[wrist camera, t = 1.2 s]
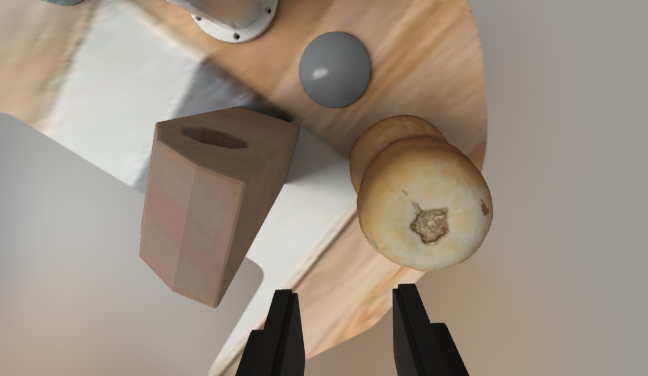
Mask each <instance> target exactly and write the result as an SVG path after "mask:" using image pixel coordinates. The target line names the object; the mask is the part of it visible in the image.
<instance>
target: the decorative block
mask: <svg viewBox="0 0 648 376" xmlns="http://www.w3.org/2000/svg"><path fill="white" fill-rule="evenodd" d="M299 130H300V126H299V125H296V124H293V123H290V122H287V121H284V120H281V119H277V118H274V117H271V116H268V115H265V114H262V113H258V112H255V111H252V110H249V109H246V108H243V107H239V106H237V107H232V108H227V109H222V110H217V111H212V112H207V113H202V114H197V115H192V116H187V117H182V118H177V119H172V120H167V121H162V122H157V123H156V125H155V132H154V139H153V146H152V153H151V160H150V167H149V174H148V182H147V189H146V196H145V203H144V210H143V217H142V226H141V241H140V257H141V259H142V260H143V261H144V262H145V263H146V264H147V265H148V266H149V267H150V268H151V269H152V270H153V271H154V272H155V273H156V274H157V275H158V276H159V277H160V278H161V279H162V280H163V281H164V282H165V284H166V285H167V286H168V287H169V288H170V289H171V290H172V291H173V292H176V293H178V294H181V295H183V296H185V297H188V298H190V299H193V300H195V301H198V302H200V303H203V304H205V305H208V306H210V307H212V308H216V307H217V306H218V305H219V304H220V302H221V300H222V298H223V296H224V294H225V293H226V291H227V289H228V287H229V285H230V283H231V281H232V279H233V278H234V276H235V274H236V272H237V270H238V269H239V267H240V265H241V263H242V261H243V259H244V257H245V256H246V254H247V252H248V250H249V248H250V246H251V245H252V243H253V241H254V239H255V237H256V235H257V233H258V232H259V230H260V228H261V226H262V224H263V222H264V221H265V219H266V217H267V215H268V213H269V211H270V209H271V208H272V206H273V204H274V202H275V200H276V198H277V196H278V195H279V193H280V191H281V189H282V187H283V185H284V183H285V180H286V176H287V173H288V169H289V166H290V162H291V159H292V155H293V152H294V148H295V144H296V141H297V137H298V134H299Z"/></svg>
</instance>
